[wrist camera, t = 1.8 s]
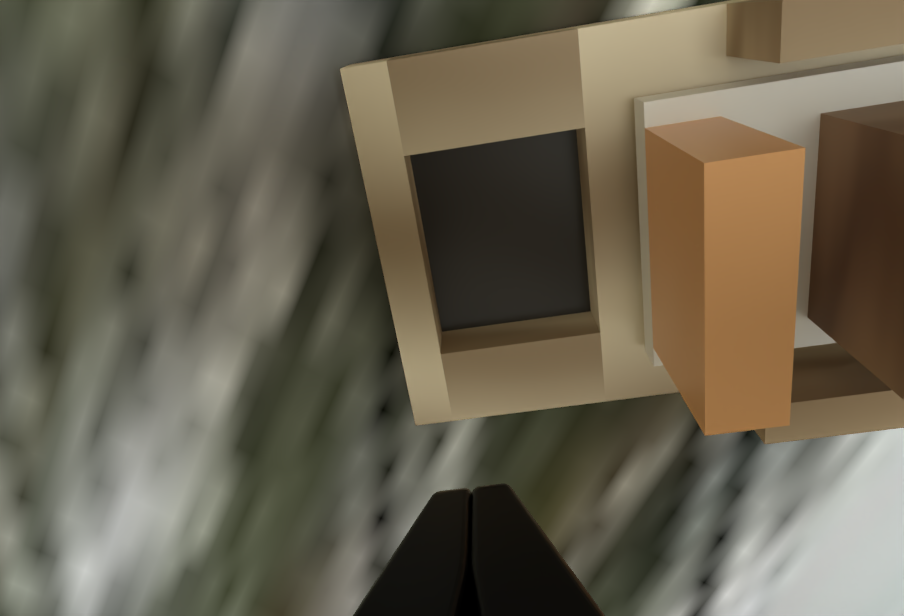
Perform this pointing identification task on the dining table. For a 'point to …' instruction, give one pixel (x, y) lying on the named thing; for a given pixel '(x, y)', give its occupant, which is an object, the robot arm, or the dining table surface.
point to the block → (861, 237)
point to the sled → (738, 232)
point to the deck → (570, 204)
